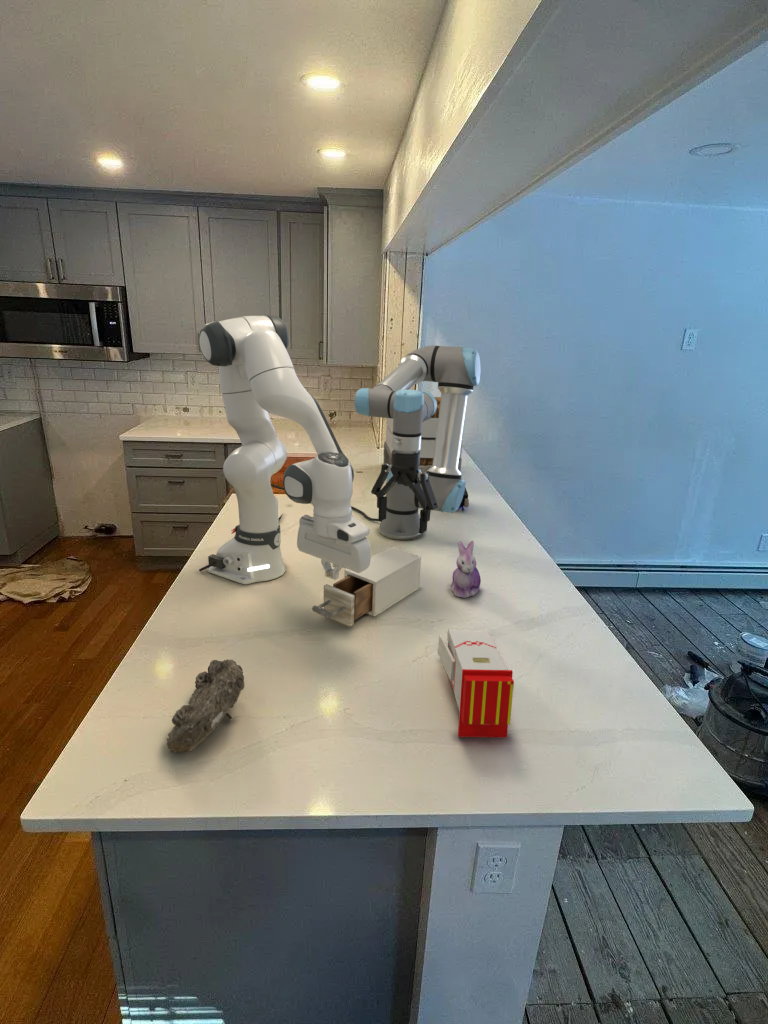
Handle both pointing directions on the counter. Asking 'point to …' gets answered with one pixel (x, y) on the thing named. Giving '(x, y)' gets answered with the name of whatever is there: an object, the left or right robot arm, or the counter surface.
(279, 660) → the counter surface
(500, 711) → the toy
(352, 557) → the left robot arm
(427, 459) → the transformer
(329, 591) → the drawer
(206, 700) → the fossil
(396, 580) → the cabinet
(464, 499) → the figurine character
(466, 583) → the figurine
